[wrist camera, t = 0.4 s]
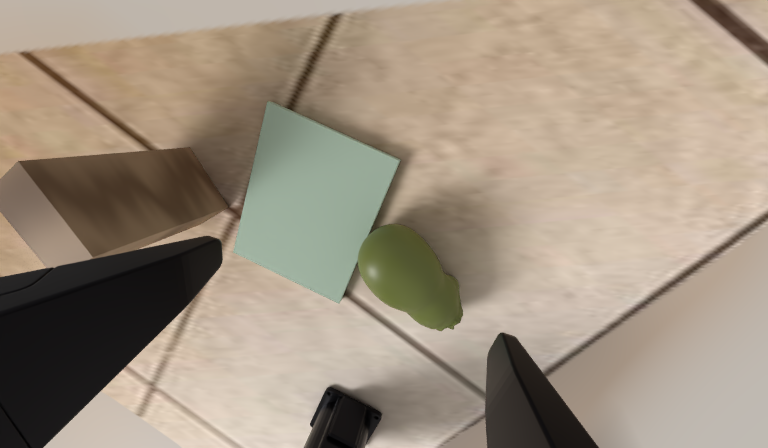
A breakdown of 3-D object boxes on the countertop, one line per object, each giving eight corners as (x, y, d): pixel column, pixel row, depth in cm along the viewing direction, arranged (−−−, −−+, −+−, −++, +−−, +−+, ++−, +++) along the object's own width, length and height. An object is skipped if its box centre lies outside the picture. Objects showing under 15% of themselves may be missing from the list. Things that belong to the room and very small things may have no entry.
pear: (397, 230, 18) (488, 327, 21) (399, 200, 23) (473, 282, 26) (335, 276, 20) (426, 359, 23) (350, 239, 25) (423, 311, 27)
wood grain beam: (228, 207, 27) (92, 257, 16) (199, 224, 28) (57, 280, 18) (189, 147, 26) (18, 161, 15) (161, 168, 27) (-15, 194, 17)
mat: (341, 298, 27) (338, 303, 27) (238, 249, 28) (233, 252, 27) (401, 159, 22) (399, 160, 21) (273, 102, 23) (267, 101, 22)
